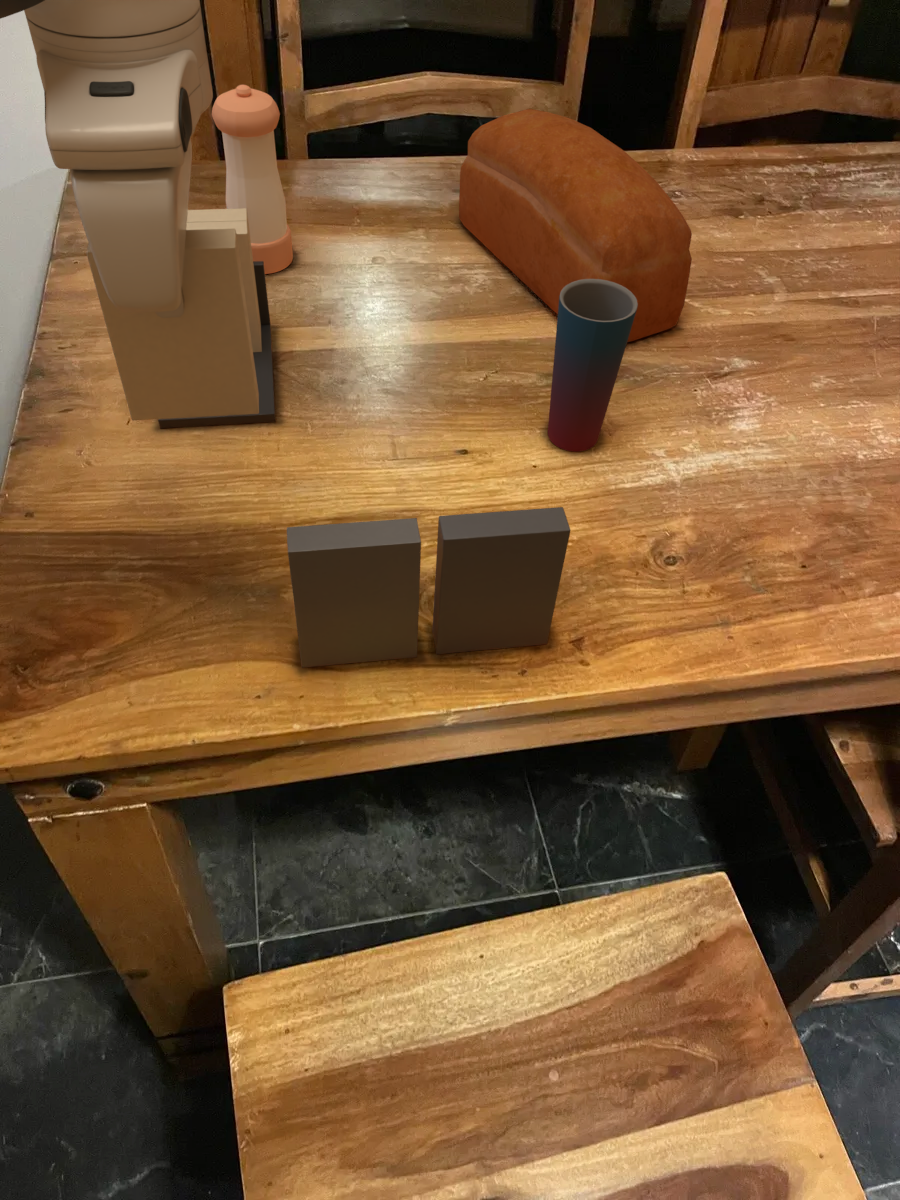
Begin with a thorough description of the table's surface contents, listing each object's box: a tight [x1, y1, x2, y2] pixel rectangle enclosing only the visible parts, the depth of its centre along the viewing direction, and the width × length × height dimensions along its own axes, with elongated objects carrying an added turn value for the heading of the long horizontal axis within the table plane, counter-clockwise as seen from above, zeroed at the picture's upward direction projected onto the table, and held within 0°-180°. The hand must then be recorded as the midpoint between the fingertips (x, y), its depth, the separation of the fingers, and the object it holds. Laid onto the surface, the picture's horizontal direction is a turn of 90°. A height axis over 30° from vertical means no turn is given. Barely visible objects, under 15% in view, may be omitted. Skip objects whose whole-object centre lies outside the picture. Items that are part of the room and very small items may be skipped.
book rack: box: [157, 208, 277, 429], centre depth 90 cm, size 11×16×14 cm
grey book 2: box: [431, 506, 571, 655], centre depth 70 cm, size 9×2×13 cm, turn 99°
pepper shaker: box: [211, 84, 294, 275], centre depth 103 cm, size 7×7×19 cm
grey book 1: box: [286, 517, 422, 668], centre depth 69 cm, size 9×2×13 cm, turn 99°
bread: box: [458, 108, 693, 343], centre depth 107 cm, size 14×33×16 cm, turn 28°
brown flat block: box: [85, 229, 259, 422], centre depth 63 cm, size 9×2×13 cm, turn 98°
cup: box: [547, 279, 638, 453], centre depth 86 cm, size 7×7×15 cm
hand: (172, 295), depth 61 cm, fingers closed on brown flat block, 2 cm apart
